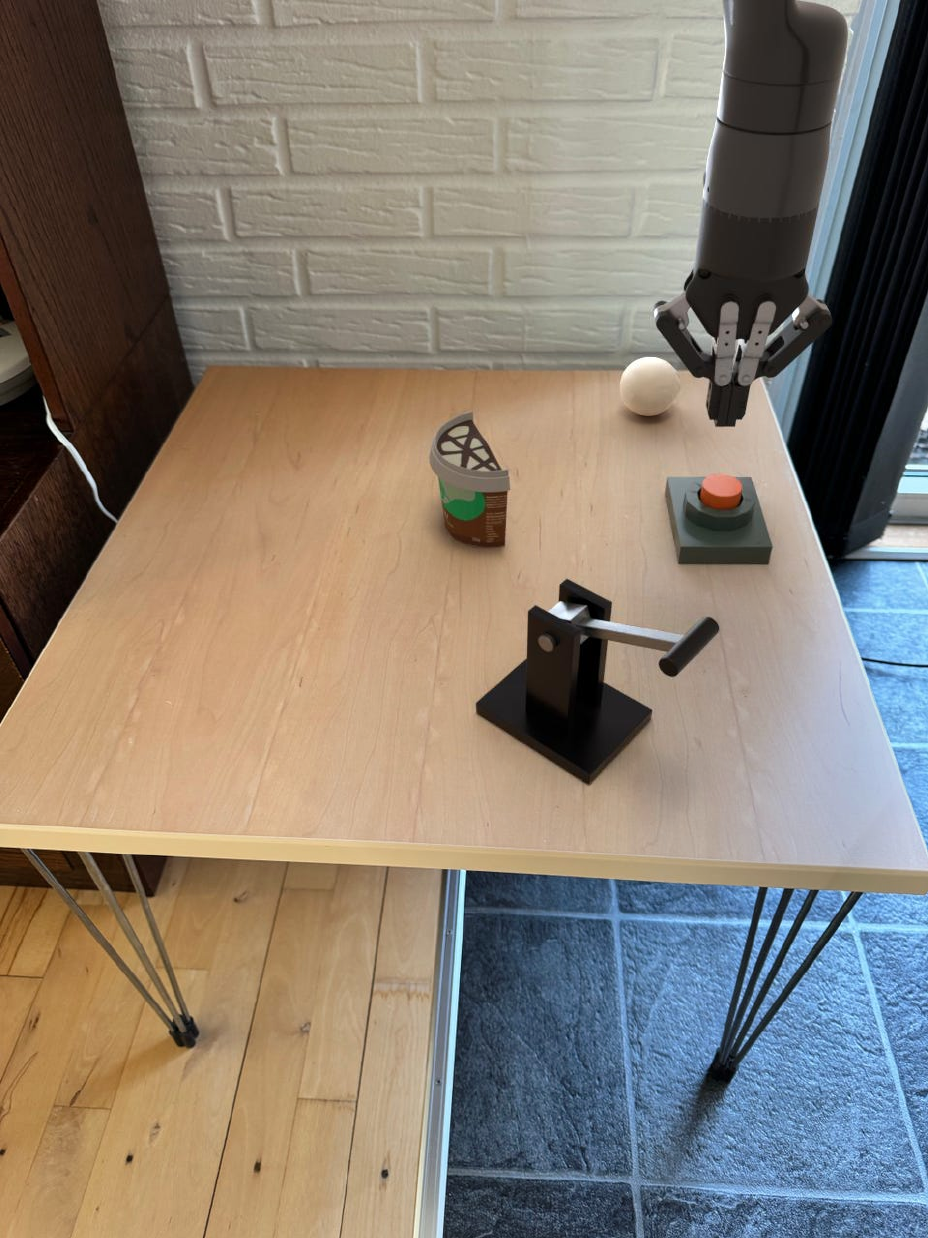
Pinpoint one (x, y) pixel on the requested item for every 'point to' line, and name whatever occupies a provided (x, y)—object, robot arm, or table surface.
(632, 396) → the cream ball
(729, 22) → the robot arm
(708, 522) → the button box
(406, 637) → the table surface
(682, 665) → the lever
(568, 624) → the bracket
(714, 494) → the button
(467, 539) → the food container
